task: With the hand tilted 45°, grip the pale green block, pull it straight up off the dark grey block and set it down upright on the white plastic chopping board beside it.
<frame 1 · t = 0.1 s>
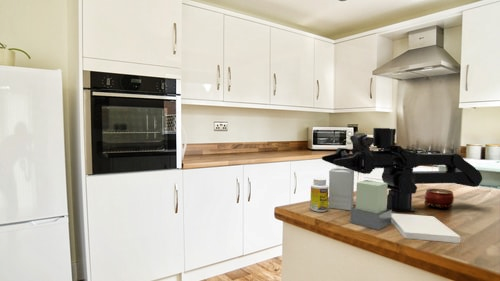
hand: (327, 159, 91), 17 cm above the counter, tool horizontal, fingers open, 9 cm apart
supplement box: (341, 207, 98), on the counter
cutting board: (420, 229, 77), on the counter
supplement bottle: (319, 210, 94), on the counter
dark grey block: (370, 223, 82), on the counter
pale green block: (371, 209, 81), point 4 cm above the counter, touching dark grey block
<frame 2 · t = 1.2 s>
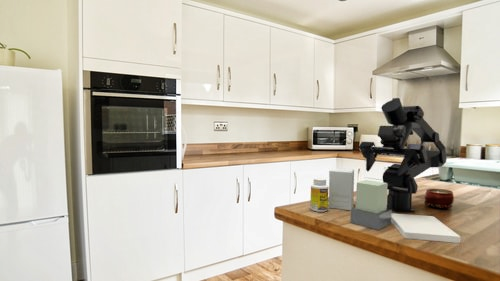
hand: (382, 172, 86), 14 cm above the counter, tool tilted 45°, fingers open, 9 cm apart
nothing on the counter moved.
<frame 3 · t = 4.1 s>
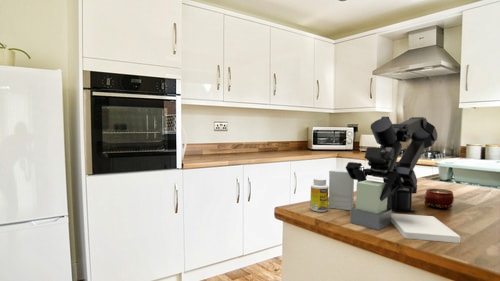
hand: (369, 197, 80), 7 cm above the counter, tool tilted 45°, fingers closed on pale green block, 6 cm apart
pale green block: (371, 209, 81), point 4 cm above the counter, touching dark grey block, gripper
everything else where it was.
when the fingers open (6 cm above the counter, at t = 9.2 s): pale green block drops 1 cm, resting on cutting board.
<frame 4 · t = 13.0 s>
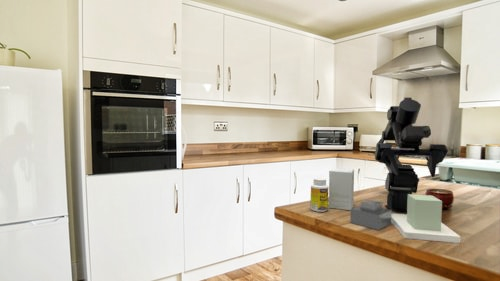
hand: (415, 175, 82), 14 cm above the counter, tool tilted 45°, fingers open, 9 cm apart
pale green block: (422, 226, 75), point 1 cm above the counter, touching cutting board
everything else where it was.
at the end: pale green block touching cutting board; pale green block inside the target area on the cutting board (0.4 cm from its centre), point 1.5 cm above the cutting board's base; pale green block tilted 0° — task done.
